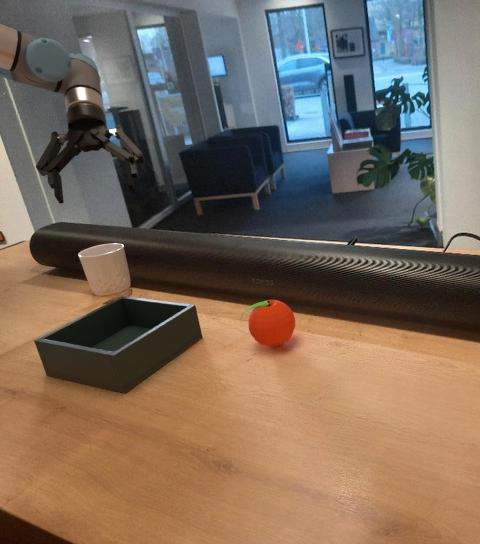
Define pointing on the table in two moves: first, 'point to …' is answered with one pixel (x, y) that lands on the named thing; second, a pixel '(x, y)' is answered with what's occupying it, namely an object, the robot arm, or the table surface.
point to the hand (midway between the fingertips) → (96, 194)
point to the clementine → (271, 322)
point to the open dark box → (119, 342)
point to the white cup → (106, 270)
